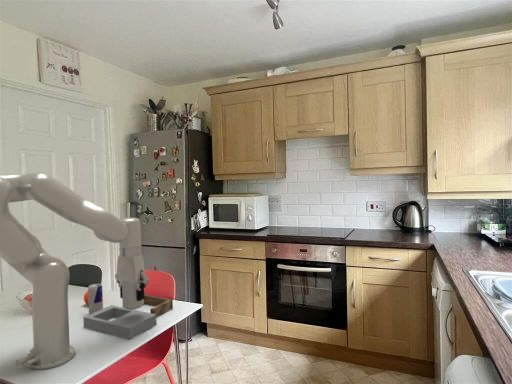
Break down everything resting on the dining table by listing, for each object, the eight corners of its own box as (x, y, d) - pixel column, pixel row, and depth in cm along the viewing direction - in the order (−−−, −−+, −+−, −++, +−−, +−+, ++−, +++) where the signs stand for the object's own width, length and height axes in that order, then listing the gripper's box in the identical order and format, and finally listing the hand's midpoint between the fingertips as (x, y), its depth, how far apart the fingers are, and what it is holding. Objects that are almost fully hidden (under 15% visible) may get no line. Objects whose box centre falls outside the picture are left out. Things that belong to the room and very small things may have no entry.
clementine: (84, 302, 151) (84, 287, 150) (101, 300, 153) (100, 285, 153) (83, 308, 143) (82, 292, 143) (101, 306, 146) (100, 290, 146)
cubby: (152, 319, 131) (152, 309, 131) (122, 312, 138) (122, 303, 138) (172, 308, 142) (172, 299, 141) (144, 303, 149) (143, 294, 148)
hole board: (130, 339, 114) (129, 328, 114) (83, 327, 124) (83, 317, 124) (156, 324, 126) (156, 314, 126) (111, 314, 136) (111, 305, 136)
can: (139, 310, 119) (138, 277, 118) (119, 310, 119) (117, 278, 118) (147, 302, 126) (145, 271, 126) (127, 303, 126) (126, 272, 126)
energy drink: (105, 313, 137) (104, 285, 137) (91, 317, 134) (90, 288, 133) (100, 310, 141) (99, 282, 141) (86, 314, 137) (85, 285, 137)
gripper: (105, 251, 122) (107, 298, 122) (140, 255, 114) (142, 305, 115) (121, 247, 128) (123, 292, 129) (155, 251, 121) (157, 298, 122)
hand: (132, 298), depth 122 cm, fingers closed on can, 7 cm apart
